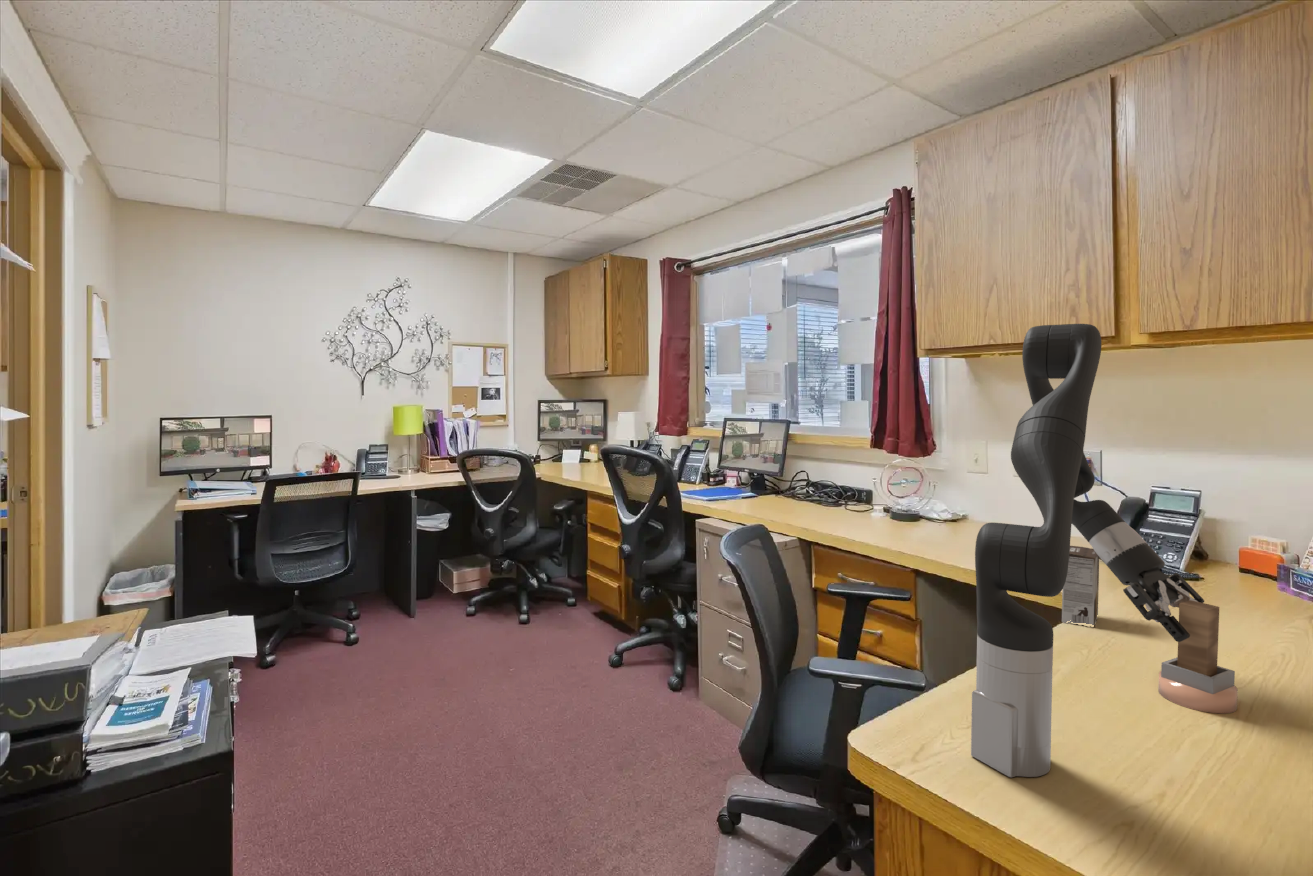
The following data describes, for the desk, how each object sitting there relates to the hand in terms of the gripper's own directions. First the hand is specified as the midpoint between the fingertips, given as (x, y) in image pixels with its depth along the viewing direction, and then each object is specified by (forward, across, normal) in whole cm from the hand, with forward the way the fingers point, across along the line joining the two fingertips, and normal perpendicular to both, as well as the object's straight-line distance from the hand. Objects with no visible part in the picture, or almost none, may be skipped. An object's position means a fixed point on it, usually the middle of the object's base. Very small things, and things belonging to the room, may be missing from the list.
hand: (1198, 635), depth 105 cm
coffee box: (-15, +22, +31) cm, 40 cm away
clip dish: (+8, 0, +8) cm, 11 cm away
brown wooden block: (+6, 0, +6) cm, 8 cm away
